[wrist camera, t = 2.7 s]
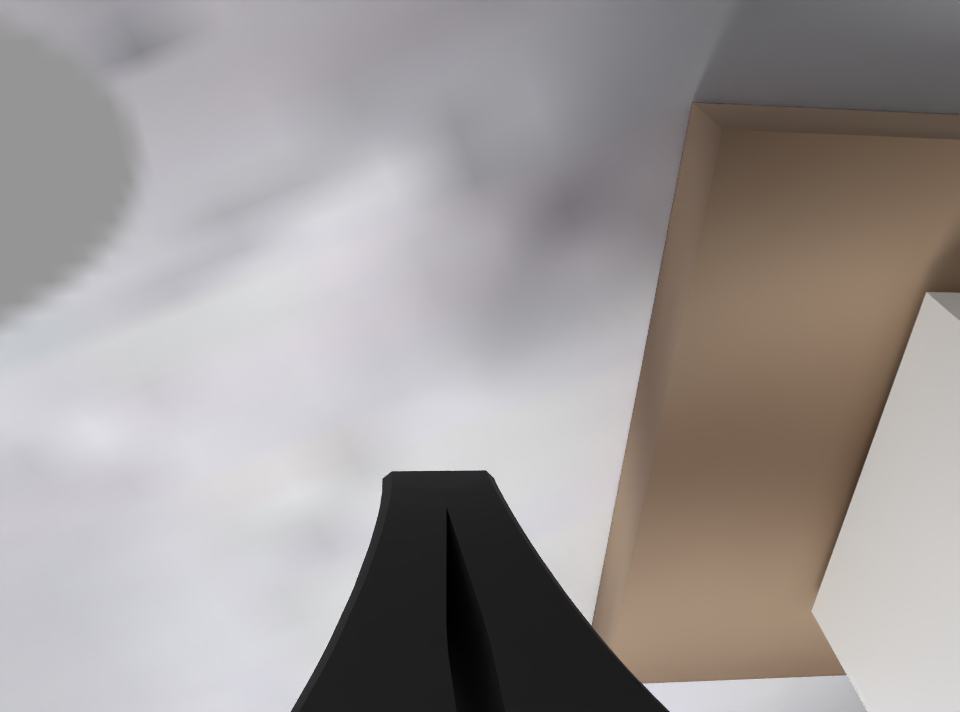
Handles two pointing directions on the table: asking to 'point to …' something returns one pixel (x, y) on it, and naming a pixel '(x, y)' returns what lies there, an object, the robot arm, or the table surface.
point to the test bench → (769, 378)
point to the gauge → (905, 536)
